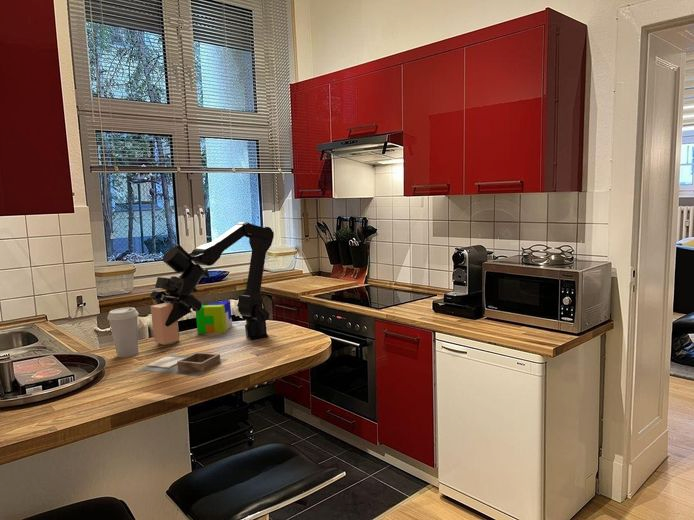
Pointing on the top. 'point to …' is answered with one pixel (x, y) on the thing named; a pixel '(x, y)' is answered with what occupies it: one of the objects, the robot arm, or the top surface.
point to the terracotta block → (163, 324)
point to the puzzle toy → (214, 317)
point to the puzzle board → (185, 364)
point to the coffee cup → (124, 331)
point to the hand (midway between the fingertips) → (160, 324)
